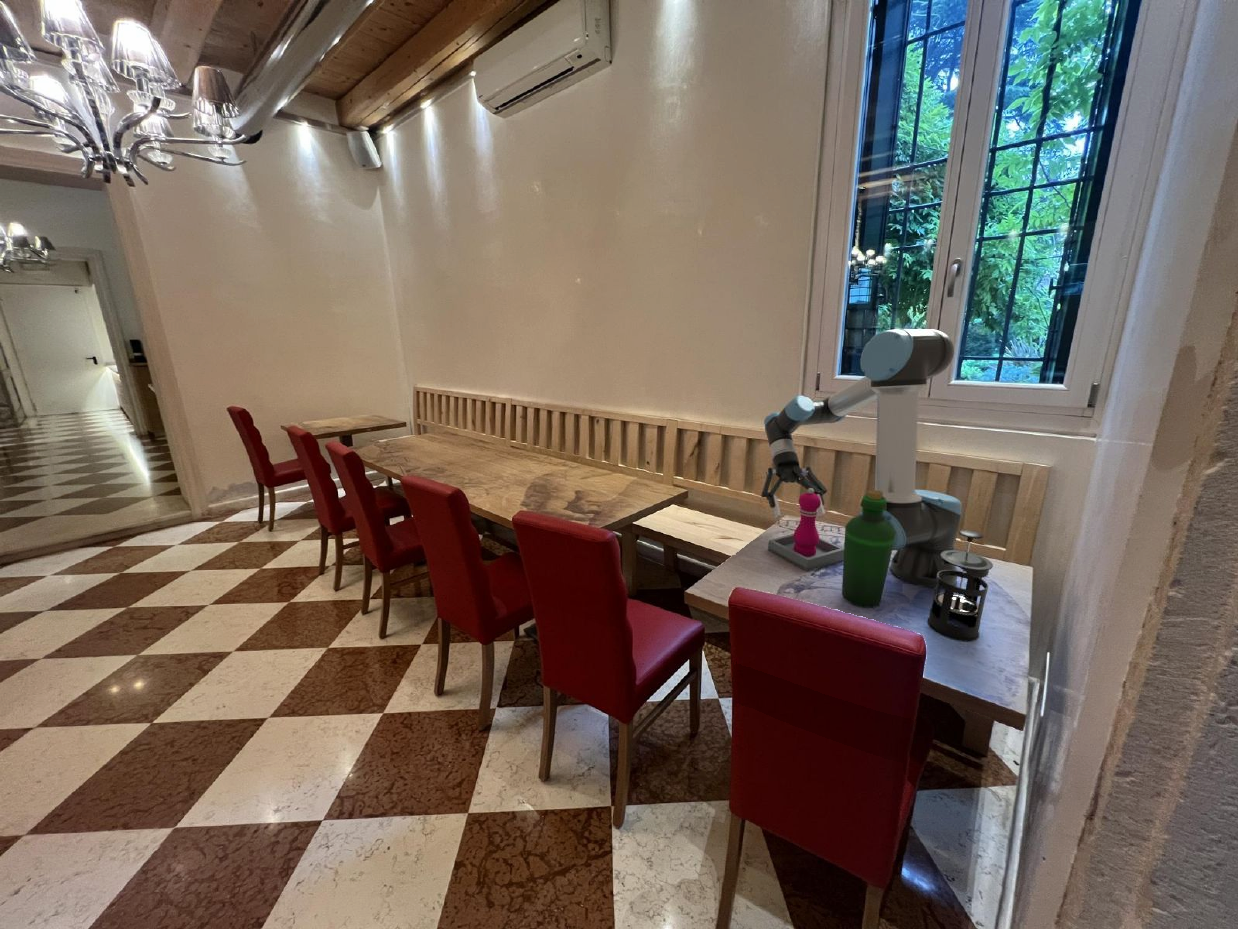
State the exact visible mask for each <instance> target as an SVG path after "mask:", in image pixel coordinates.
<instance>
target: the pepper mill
mask: <svg viewBox="0 0 1238 929" xmlns="http://www.w3.org/2000/svg"><path fill="white" fill-rule="evenodd" d="M806 491H807V492H804V493H802V494H801V495H800V496H799V497H798V504H799V506H800V508H799V511H798V512H799V514H800V520H799V523H798V525H797V527H796V528H795V530H794V532H793V534H794V535H793V540H794V541H795V544H794V551H795V552H797V553H799V554H801V555H803V556H814V555H815V554H816V549H817V548H816V545H817V544H818V543H819V538H820V534H819V531H818V529H817V526H816V517H817V516H819V515H818V510H817V509H818V508H819V507H820V505H821V500H820V497H819V496H818V495H816V494H814V489H812V488H809V489H808V490H807V489H806Z"/></svg>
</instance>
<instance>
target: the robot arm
mask: <svg viewBox="0 0 1238 929" xmlns="http://www.w3.org/2000/svg"><path fill="white" fill-rule="evenodd" d="M954 354H955V346H954V343H953V340H951V338H950V337H949V336H948V334H946V333H944V332H942V331H940V330H937V329H934V328H932V329H930V328H926V329H925V328H923V329H922V328H921V329H918V328H915V329H914V328H913V329H912V328H895V329H889V330H883V331H881V332H878V333H877V334H875V335H873V337H871V338H870V339H869V341H868V342H867V343H866V344H865V346H864V347H863V350H862V351H861V356H860V362H859V363H860V369H861V372H862V373H864V376H863V377H861V378H860V379H858V380H856V381H855V382H852V383H851V384H849V385H847V386H846V387H844V388H842V389H840V390H839V391H836V392H835V393H834V394H832V395H829V396H828V397H827V398H825V399H822V400H812V399H811V398H809V397H807V396H804V395H797V396H795V397H793V398H792V400H790V401H789V402H788V403H787V404H786V405H785V407H784V408H782V410H780V412H778V411H776V412H772V413H770V414H769V415H766V417H765V418H764V422H763V423H764V431H765V434H766V438H767V441H768V445H769V449H770V453H771V456H772V461H773V466H774V469H773V468H772V467H768V468H767V470H766V472H765V473H766V478H765V482H764V484H763V488H762V492H761V493H760V494H761V495H760V497H761V498H765V499H766V500H767V501H768V503H769V504H768V505H769V507H770V508H771V509H772V508H773V513H774V518H775V519H777V520H778V519H779V518H780V517H781V516H782V513H781V509H780V506H779V501H778V497H777V495H774V494H775V493H776V492H777V490H778V488H780V487H781V484H782V483H783V482H784V483H785V484H788V483H792V484H793V483H797V484H798V485H800V486H802V487H803V488H804V489H806V491H807V490H808V489H809V488H812V489H814V494H816V495H818V496H819V497H820V500H821V505H820V507H819V508H818V509H817V510H818V515H817V516H818V517H819V518H822V517H824V516H825V514H826V512H825V508H824V505H825V500H824V496H825V495H826V493H828V489H827V488H826V487H825V485H824V484H823V483H822V482H821V481H820V480H819V478H818V477H817V476H816V475H815V474H814V473H813V470H812V468H811V467H810V466H807V467H806V468H801V467H800V461H799V457H798V454H797V450H796V448H795V444H794V441H793V437H792V435H793V433H794V432H795V431H796V430H798V428H800V427H801V426H808V425H811V426H812V425H823V424H834V423H837V422H838V423H839V422H842V421H843V420H844V419H845V418H846V416H847V415H848V414H851V413H852V412H855V411H856V410H858V409H860V408H861V409H862V407H865V406H866V405H868V404H871V403H873V402H874V401H876V439H875V443H876V444H875V445H876V446H875V448H876V449H875V476H874V477H875V482H874V483H875V484H874V485H875V486H874V490H877V491H881V492H883V495H882V497H884V498H886V504H887V509H886V510H883V514H882V518H884V519H885V520H886V521H888V522H889V523H890V524H891V525H892V526H893V528H894V529H895V531H896V535H895V540H894V544H893V549H892V552H893V551H895V553H894V555H893V557H892V558H891V560H890V567H891V568H890V570H892V571H891V572H892V573H893V574H894V575H895V574H896V575H897V576H896V575H895V576H896V577H898V576H899V577H898V578H900V579H901V578H902V580H903V579H904V580H903V581H905V582H908V583H911V584H914V585H917V586H922V587H926V588H933V589H935V587H936V577H937V573H938V572H939V571H943V570H955V571H958V570H957V566H954V565H952V564H946V565H942V558H941V553H942V552H943V551H947V550H955V545H956V542H957V536H958V533H959V531H958V530H959V525H960V521H961V516H962V515H963V514H962V508H963V506H962V504H963V503H962V502H961V501H960V499H958V498H957V497H954V496H952V495H948V494H945V493H941V492H938V491H933V490H927V489H916V470H917V469H916V468H917V467H916V466H917V447H918V446H917V445H918V444H917V443H918V418H919V417H918V415H919V414H918V413H919V394H920V392H921V391H922V390H923V389H924V388H926V387H927V385H928V384H927V383H928V382H927V381H928V380H930V379H932V378H934V377H936V376H938V375H940V374H942V373H943V372H944V371H946V369H948V368H949V366H950V365H951V363H952V361H953V359H954ZM775 475H776V477H778V480H777V481H776V483H775V484H774V486H773V487H772V489H771V490H770V492H769V489H770V487H771V486H770V484H771V482H772V480H773V477H774V476H775ZM859 515H863V508H862V509H861V511H859V512H858V515H857V516H859ZM957 579H958V577H957V576H942V581H944V582H946V583H948V584H950V585H952V586H955V585H956V584H957ZM940 589H944V588H943V587H940Z"/></svg>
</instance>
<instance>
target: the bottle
mask: <svg viewBox="0 0 1238 929" xmlns="http://www.w3.org/2000/svg"><path fill="white" fill-rule="evenodd" d="M866 493H867V494H864V495H863V497H862V499H861V502H860V506H861V508H862V509H863V515H859V514H858V515H859V516H858V515H857V516H853V517H852V518H851V519H850V520H849V521H848V522H847V523H846V524H845V527H844V545H843V546H844V547H843V548H844V560H843V563H842V564H843V565H842V582H841V583H842V585H841V588H842V589H841V595H842V598H843V599H844V600H845V601H846V602H849V603H850V604H852V605H853V606H858V607H860V606H861V607H860V608H875V607H879V606H880V604H881V602H882V598H883V592H884V590H885V584H886V580H887V575H888V570H889V566H890V563H891V559H892V558H891V556H892V552H893V550H892V549H893V544H894V540H895V535H896V531H895V529H894V528H893V526H892V525H891V524H890V523H889V522H888V521H886V520H885V519H884V518H882V514H883V510H886V509H887V504H886V498H884V497H882V495H883V492H881V491H877V490H875V489H870V490H869V489H868V490H867V492H866Z"/></svg>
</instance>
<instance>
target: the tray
mask: <svg viewBox="0 0 1238 929" xmlns="http://www.w3.org/2000/svg"><path fill="white" fill-rule="evenodd" d="M793 535H794V533H792V534H787V535H784V536H779V537H776V538H772V539H768V546H767V551H768V552H770V553H771V554H773V555H775V556H777V557H779V558H780V559H782V560H784V561H786V562H788V563H790V564H791V565H794V566H795V567H797V568H799V569H801V570H803V571H805V572H810V571H812V570H817V569H820V568H823V567H826V565H827V566H829V565H834V564H837V563H839V562H838V561H840V562H844V547H841V546H840V545H837V544H835V543H833V542H830V541H828V540H825V539H823V538H821V537H819V543H818V544H817V545H816V548H817V549H816V554H815V555H814V556H803V555H801V554H799V553H797V552H795V551H794V544H795V541H794V540H793ZM836 562H837V563H836Z"/></svg>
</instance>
